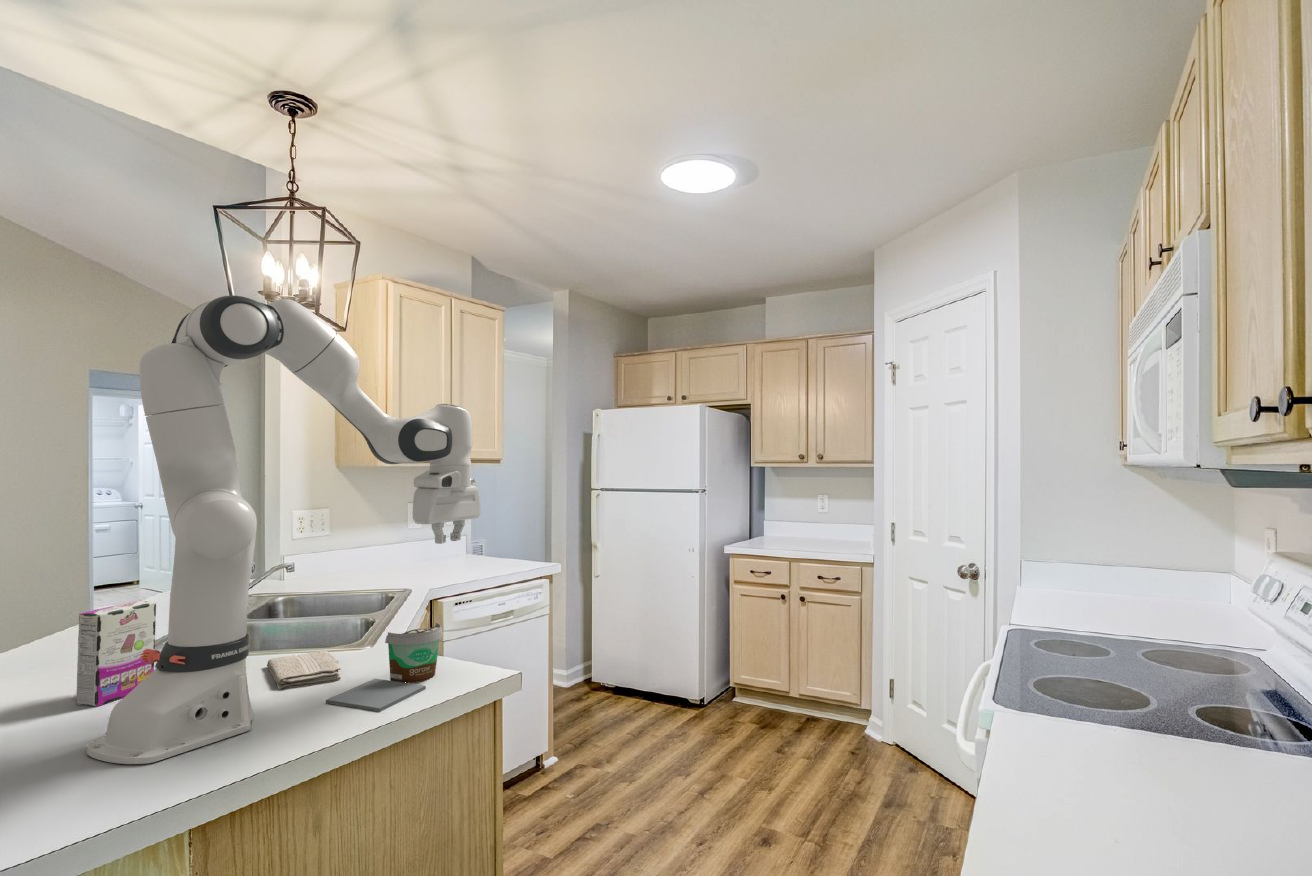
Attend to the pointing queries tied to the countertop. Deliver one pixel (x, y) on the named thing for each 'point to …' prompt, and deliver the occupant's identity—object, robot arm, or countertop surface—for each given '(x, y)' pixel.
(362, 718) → the countertop surface
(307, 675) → the washcloth
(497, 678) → the countertop surface
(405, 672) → the food container
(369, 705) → the mat
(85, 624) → the candy bar box
